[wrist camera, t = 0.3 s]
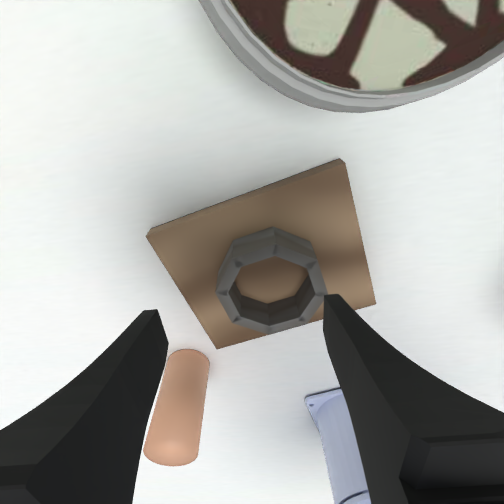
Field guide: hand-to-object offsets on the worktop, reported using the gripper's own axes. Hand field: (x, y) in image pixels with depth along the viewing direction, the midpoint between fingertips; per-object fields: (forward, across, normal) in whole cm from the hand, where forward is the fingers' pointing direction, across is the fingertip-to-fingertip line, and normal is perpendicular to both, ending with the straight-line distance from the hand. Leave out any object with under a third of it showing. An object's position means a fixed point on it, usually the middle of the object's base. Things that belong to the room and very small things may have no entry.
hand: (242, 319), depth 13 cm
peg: (+10, +7, +14) cm, 19 cm away
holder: (+10, -2, +4) cm, 11 cm away
